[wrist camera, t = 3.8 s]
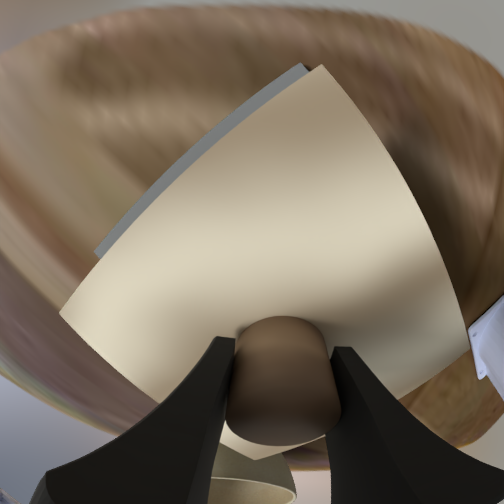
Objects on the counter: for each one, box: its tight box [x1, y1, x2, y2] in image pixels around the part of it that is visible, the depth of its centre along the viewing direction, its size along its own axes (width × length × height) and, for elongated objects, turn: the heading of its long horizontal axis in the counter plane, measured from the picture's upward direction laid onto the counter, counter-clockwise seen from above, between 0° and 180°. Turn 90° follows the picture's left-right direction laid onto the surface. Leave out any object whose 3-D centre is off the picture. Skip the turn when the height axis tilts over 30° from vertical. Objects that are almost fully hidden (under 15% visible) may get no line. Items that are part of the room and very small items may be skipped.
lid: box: [59, 64, 470, 460], centre depth 8 cm, size 13×13×4 cm
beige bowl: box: [207, 442, 297, 504], centre depth 19 cm, size 10×10×7 cm
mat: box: [94, 63, 309, 259], centre depth 16 cm, size 16×16×1 cm
